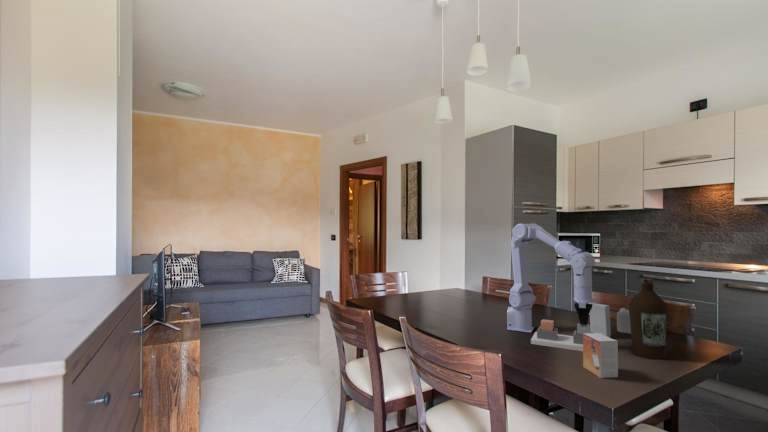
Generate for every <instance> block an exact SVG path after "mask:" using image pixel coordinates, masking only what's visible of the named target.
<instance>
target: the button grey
mask: <svg viewBox="0 0 768 432" xmlns="http://www.w3.org/2000/svg"><path fill="white" fill-rule="evenodd" d="M576 324H577V325H576V330H577V335H583V333H590V332H591V328H590V324H588V323H587V325H580V322H579V323H576Z"/></svg>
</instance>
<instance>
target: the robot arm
mask: <svg viewBox="0 0 768 432" xmlns="http://www.w3.org/2000/svg"><path fill="white" fill-rule="evenodd" d="M511 231H512V232H511V233H512V234H511V235H512V237H511V240H510V250H511V261H512V264H511V265H512V275H513V285H512V287H511V288H510V289H509V297H508V302H509V304H510V306H508V307H507V310H506V311H507V312H506V320H507V321H506V323H507V326H506V327H507V328H506V329H507V330H508V331H515V332H516V331H517V332H522V333H528V334H529V333H533V330H534V329H535V326H532V325H533V323H532V322H533V321H532V319H533V318H532V315H533V314H532V308H533V305H534V304H535V302H536V296H535V294H534V292H533V288H532V286H530V285H529V279H528V278H529V277H528V269H527V267H528V266H527V255H526V246H527V245H528V244H529V243H530V242H532V241H534V240H536V239H539V240H540V241H542V242H543V243H544V244H547V245H548V246H550V247H551V248H553V249H554V251H555V253H556V254H557V255H558V256H560V257H562V258H563V259H565V260H566V261H567V262H569V264H570V266H571V267H572V269H573V270H572V271H573V301H574V302H575V303H574V309H575V311H576V312H577V315H578V321H579V323H580V325H587V324H588V323H589V318H590V310H591V309H592V303H597V299H596V298H593V277H592V275H593V271H592V270H593V269H592V268H593V266H594V265H595V264H596V263H595V262H596V260H595V257H594V255H593V254H591V253H590V252H589V251H583V249H581V248H578V247H576V246H574V245H573V244H572V242H571V241H569V240H561V241H560V240H559V239H558V238H557V237H555V236H553V235H552V234H551V233H549V232H548V231H547V230H545V229H544V228H543V227H542V226H540V225H538V224H537V223H517V224H516V225H515V226H514V227H513V228H512V230H511Z"/></svg>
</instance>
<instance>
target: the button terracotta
mask: <svg viewBox="0 0 768 432" xmlns="http://www.w3.org/2000/svg"><path fill="white" fill-rule="evenodd" d="M554 323H555V321H554V319H553V320H551V319H541V320H540V326H541V330H544V331H552V332H553V331H554V328H555V324H554Z"/></svg>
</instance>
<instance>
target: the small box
mask: <svg viewBox="0 0 768 432" xmlns="http://www.w3.org/2000/svg"><path fill="white" fill-rule="evenodd" d="M618 344H619V343H618V340H617V339H613V338H611V337H607V336H605V335H603V334H601V333H583V351H582V365H583V367H582V368H584V369H586V370H587V371H589V372H590V373H592V374H594V375H595V376H597V377H598V378H599V379H602V378H603V379H605V378H618V377H619V352H618V351H619V350H618Z"/></svg>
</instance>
